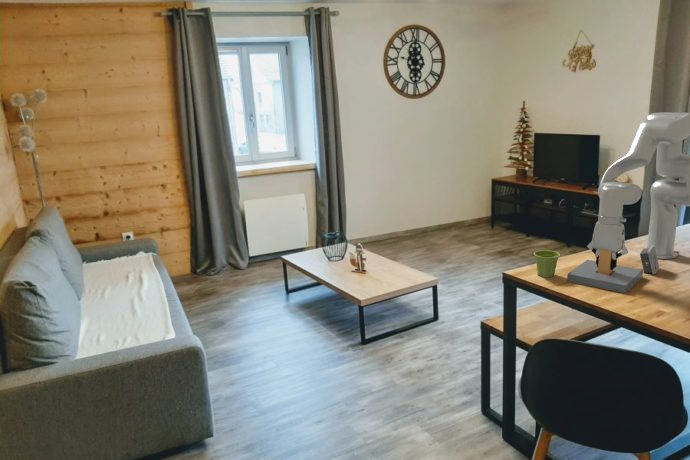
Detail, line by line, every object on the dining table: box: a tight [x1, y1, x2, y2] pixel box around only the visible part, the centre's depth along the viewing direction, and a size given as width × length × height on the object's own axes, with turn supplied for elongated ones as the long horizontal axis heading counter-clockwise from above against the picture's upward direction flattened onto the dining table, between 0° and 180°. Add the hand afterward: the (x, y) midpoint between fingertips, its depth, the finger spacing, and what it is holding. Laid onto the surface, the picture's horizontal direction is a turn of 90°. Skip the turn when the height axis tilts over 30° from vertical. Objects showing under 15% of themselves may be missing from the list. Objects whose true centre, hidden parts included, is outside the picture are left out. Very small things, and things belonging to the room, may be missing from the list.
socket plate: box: [566, 259, 644, 294], centre depth 193 cm, size 20×20×3 cm
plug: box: [598, 249, 613, 275], centre depth 191 cm, size 4×4×10 cm
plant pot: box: [533, 249, 561, 278], centre depth 199 cm, size 9×9×9 cm
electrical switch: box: [639, 246, 660, 276], centre depth 199 cm, size 9×5×9 cm, turn 141°
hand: (605, 267), depth 192 cm, fingers closed on plug, 4 cm apart
